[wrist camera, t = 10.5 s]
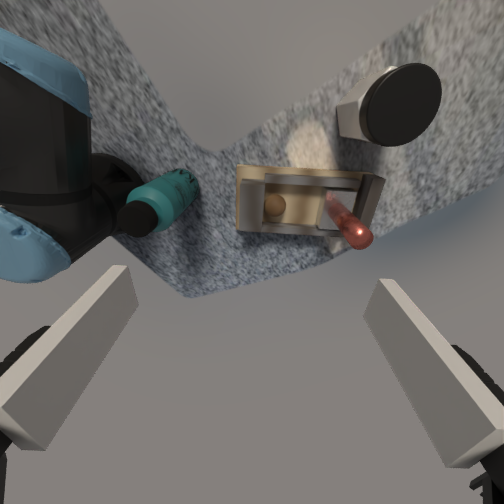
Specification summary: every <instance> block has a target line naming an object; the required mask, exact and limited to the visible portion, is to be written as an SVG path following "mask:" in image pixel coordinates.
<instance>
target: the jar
mask: <svg viewBox="0 0 504 504" xmlns="http://www.w3.org/2000/svg"><path fill="white" fill-rule="evenodd" d="M441 96H442V88H441V82H440V79H439V77H438V75H437V73H436V72H435V71H434V70H433V69H432V68H431V67H429V66H427V65H425V64H421V63H410V64H406V65H403V66H400V67H394V66H389V67H387V68H385V69H383V70H380V71H378V72H376V73H374V74H371V75H369V76H367V77H365V78H362V79H360V80H359V81H358V82H357V84H356V85H355V86H354V87H353V88H352V89H351V90H350V91H349V92H348V93H347V95H346V96H345V97H344V98H343V99H342V100H341V101H340V102H339V103H338V104H337V106H336V107H337V115H338V124H339V132H340V136H341V137H345V138H350V139H354V140H358V141H362V142H367V143H373V144H378V145H381V146H385V147H394V146H400V145H404V144H406V143H409V142H411V141H412V140H414V139H415V138H417V137H418V136H419V135H421V134H422V133H423V132H424V131H425V130H426V129H427V128H428V126H429V125H430V124H431V122H432V121H433V119H434V117H435V115H436V114H437V111H438V109H439V106H440V102H441Z"/></svg>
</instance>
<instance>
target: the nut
mask: <svg viewBox="0 0 504 504" xmlns="http://www.w3.org/2000/svg"><path fill="white" fill-rule="evenodd" d="M285 209H286V202H285V199H284V198H283V197H282V196H280V195H278V194H273V195H270V196H268V197H267V198H266V200H265V202H264V210H265V212H266V213H267V214H268V215H269V216H272V217H278V216H280V215H282V214H283V213H284V211H285Z"/></svg>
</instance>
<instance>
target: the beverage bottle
mask: <svg viewBox="0 0 504 504" xmlns="http://www.w3.org/2000/svg"><path fill="white" fill-rule="evenodd" d="M198 184H199V183H198V181H197V179H196V177H195V176H194V175H193V174H192V173H190V172H189V171H188V170H186V169H185V170H184V169H178V168H177V169H175V170H172V171H170V172H169V171H168V172H167V173H165V174H164V175H162V176H161V175H160V176H159V177H158V178H156V179H154V180H152V181H150V182H148V183H146V184H144V185H142V186H140V187H137V188H135V189H134V190H132V191H131V192H130V194H129V195H128V198H127V202H126V205H125V206H124V207H123V208H121V209H120V211H119V212H118V215H117V221H118V224H119V226H120V228H121V229H122V230H123V231H124V232H125V233H127V234H128V235H130V236H133V237H144V236H146V235H147V234H149V233H150V232H160V231H163V230H166V229H167V228H168V227H170V225H171V224H172V223H173V221H174V220H175V219H176V218H177V217H179V216H180V214H181V213H183V211H184V210H186V208H187V207H188V206H189V205H190V204H191V203H193V202H192V201H193V200H194V199H196V198H197V195H198V192H199V185H198Z"/></svg>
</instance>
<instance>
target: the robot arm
mask: <svg viewBox="0 0 504 504" xmlns="http://www.w3.org/2000/svg"><path fill="white" fill-rule="evenodd" d="M91 119H93V116H92V114H91V113H90V103H89V91H88V84H87V81H86V79H85V77H84V75H83V74H82V72H81V71H80V70H79V69H78V68H77V67H76V66H75V65H73V64H72V63H71V62H69V61H67V60H65V59H63V58H61V57H59V56H58V55H56V54H54V53H52V52H50V51H48V50H46V49H44V48H42V47H40V46H38V45H36V44H34V43H31V42H29V41H27V40H25V39H23V38H21V37H19V36H17V35H15V34H13V33H11V32H9V31H7V30H5V29H2V28H0V279H4V280H7V281H11V282H16V283H37V282H42V281H44V280H47V279H49V278H51V277H52V276H54V275H55V274H57V273H59V272H60V271H63V270H65V269H67V268H69V267H70V265H71V264H72V263H74V262H75V261H76V260H77V259H79V258H80V257H82V256H83V255H84V254H86V253H87V252H88V251H89V250H91V249H92V248H93V247H95V246H96V245H97V244H99V243H100V242H101V241H103V240H104V239H105V238H106V237H108V236H112V235H117V234H122V233H125V232H124V231H123V230H122V229H121V228H120V226H119V224H118V221H117V215H118V212H119V211H120V209H121V208H123V207H124V206H125V205H126V202H127V198H128V195H129V194H130V192H131V191H132V190H134V189H135V188H137V187H140V186H142V185H144V182H143V181H142V179H141V178H140V176H139V175H138V174H137V173H136V171H135V170H134V169H133V168H131V167H130V166H129V165H128V164H127V163H125V162H124V161H122V160H120V159H118V158H116V157H114V156H111V155H108V154H103V153H92V148H91ZM137 307H138V301H137V297H136V294H135V291H134V287H133V283H132V279H131V276H130V272H129V268H128V266H124V265H112V266H111V268H109V269H108V270H107V271H106V272H105V273H104V274H103V275H102V276H101V277H100V278H99V279H98V280H97V281H96V282H95V283H94V284H93V285H92V286H91V287H90V288H89V289H88V290H87V291H86V292H85V293H84V294H83V295H82V296H81V297H80V298H79V299H78V300H77V301H76V302H75V303H74V304H73V305H72V306H71V307H70V308H69V309H68V310H67V311H66V312H65V313H64V314H63V315H62V316H61V317H60V318H59V319H58V320H57V321H56V322H55V323H54V324H53V325H52V326H44V327H42V328H40V329H39V330H37V331H36V332H34V333H33V334H31V335H29V336H28V337H27V338H26V339H25V340H24V341H23V342H22V343H21V344H19V345H18V346H17V347H16V348H15V351H12V352H11V353H10V354H9V355H8V356H7V357H6V358H5V359H4V361H3V362H0V504H3V502H4V491H5V479H6V466H7V458H6V453H5V451H6V450H7V448H8V447H9V446H10V444H11V443H12V442H13V443H14V444H15V445H16V446H17V447H19V448H20V449H21V450H38V451H45V450H46V449H47V447H48V446H49V444H50V443H51V441H52V439H53V438H54V436H55V435H56V433H57V432H58V430H59V428H60V427H61V425H62V424H63V422H64V421H65V419H66V418H67V416H68V414H69V413H70V411H71V410H72V408H73V407H74V405H75V403H76V402H77V400H78V399H79V397H80V396H81V394H82V393H83V391H84V390H85V388H86V386H87V385H88V383H89V382H90V380H91V379H92V377H93V375H94V374H95V372H96V371H97V369H98V367H99V366H100V365H101V363H102V361H103V360H104V358H105V357H106V355H107V354H108V352H109V351H110V349H111V347H112V346H113V344H114V343H115V341H116V340H117V338H118V337H119V335H120V333H121V332H122V330H123V329H124V327H125V326H126V324H127V322H128V321H129V319H130V318H131V316H132V315H133V313H134V311H135V310H136V308H137ZM363 317H364V319H365V321H366V323H367V325H368V326H369V328H370V330H371V332H372V334H373V336H374V337H375V339H376V341H377V343H378V345H379V346H380V348H381V350H382V352H383V354H384V355H385V357H386V359H387V361H388V363H389V365H390V366H391V368H392V370H393V372H394V374H395V376H396V377H397V379H398V381H399V383H400V385H401V387H402V388H403V390H404V392H405V394H406V396H407V397H408V399H409V401H410V403H411V405H412V407H413V408H414V410H415V412H416V414H417V416H418V417H419V419H420V421H421V423H422V425H423V427H424V428H425V430H426V432H427V434H428V436H429V437H430V439H431V441H432V443H433V445H434V447H435V448H436V450H437V452H438V454H439V456H440V458H441V459H442V461H443V463H444V465H445V467H447V468H470V467H472V466H473V465H475V464H476V463H478V462H479V461H480V462H481V464H482V465H483V467H484V468H485V470H486V472H485V473H483V474H482V475H480V476H479V477H477V478H475V479H474V480H472V481H471V483H470V486H469V487H470V488H471V489H473V490H475V489H476V488H478V487H480V486H482V485H483V492H482V493H481V494H480V495H481V496H482V497H483V504H504V392H503V390H502V389H501V388H500V387H499V386H498V385H497V384H495V383H494V381H493V379H492V378H491V377H490V376H489V375H488V374H487V373H484V370H483V369H482V368H481V366H480V365H479V364H478V363H477V362H476V361H475V360H474V359H473V358H472V357H471V356H470V355H469V354H467V353H466V352H465V351H463V350H462V349H461V348H459V347H458V346H457V345H450V344H449V343H448V342H447V341H446V340H445V338H444V337H443V336H442V335H441V334H440V333H439V331H438V330H437V329H436V328H435V327H434V326H433V325H432V323H431V322H430V321H429V320H428V319H427V318H426V316H425V315H424V314H423V313H422V312H421V311H420V310H419V308H418V307H417V306H416V305H415V304H414V303H413V302H412V301H411V299H410V298H409V297H408V296H407V295H406V294H405V292H404V291H403V290H402V289H401V288H400V287H399V286H398V284H397V283H396V282H395V281H394V280H393V279H379V280H378V282H377V284H376V287H375V289H374V291H373V294H372V296H371V298H370V301H369V303H368V306H367V308H366V310H365V313H364V315H363Z"/></svg>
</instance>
